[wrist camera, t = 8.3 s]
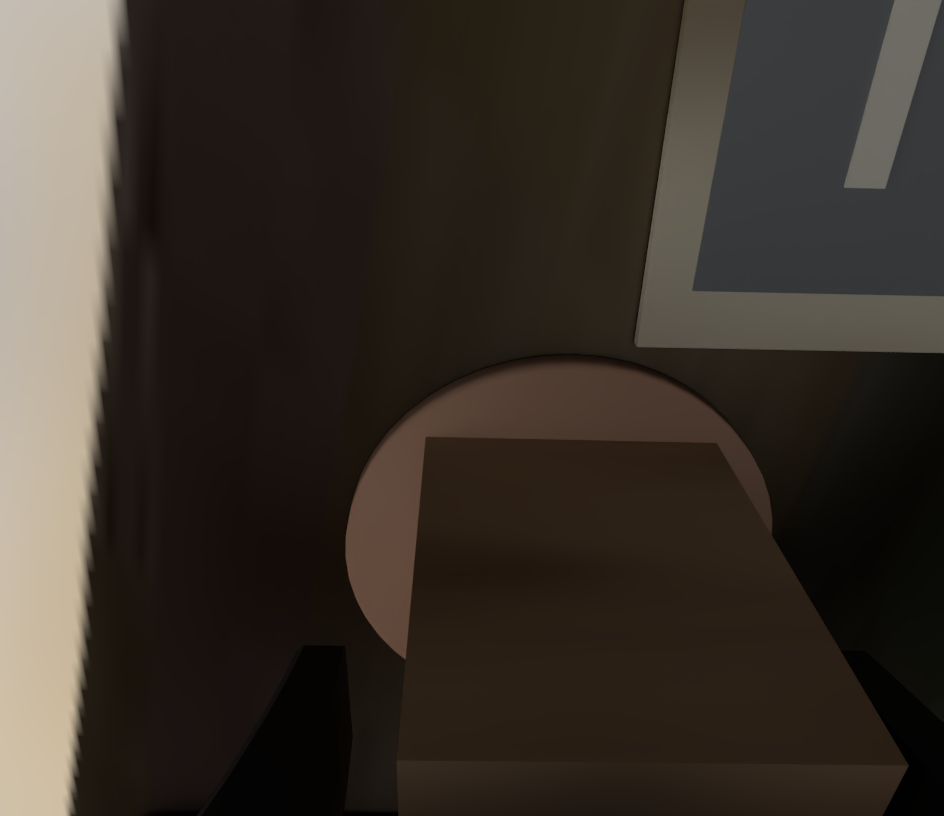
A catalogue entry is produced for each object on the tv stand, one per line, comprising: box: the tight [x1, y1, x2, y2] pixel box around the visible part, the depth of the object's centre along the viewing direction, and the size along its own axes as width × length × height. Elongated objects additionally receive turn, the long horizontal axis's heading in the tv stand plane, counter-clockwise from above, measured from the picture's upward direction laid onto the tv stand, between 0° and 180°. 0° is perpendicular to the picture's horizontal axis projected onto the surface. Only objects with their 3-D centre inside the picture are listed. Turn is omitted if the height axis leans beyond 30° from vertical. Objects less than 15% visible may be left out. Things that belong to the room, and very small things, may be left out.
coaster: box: [346, 355, 772, 660], centre depth 14 cm, size 8×8×1 cm
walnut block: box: [397, 437, 909, 816], centre depth 11 cm, size 5×5×6 cm
